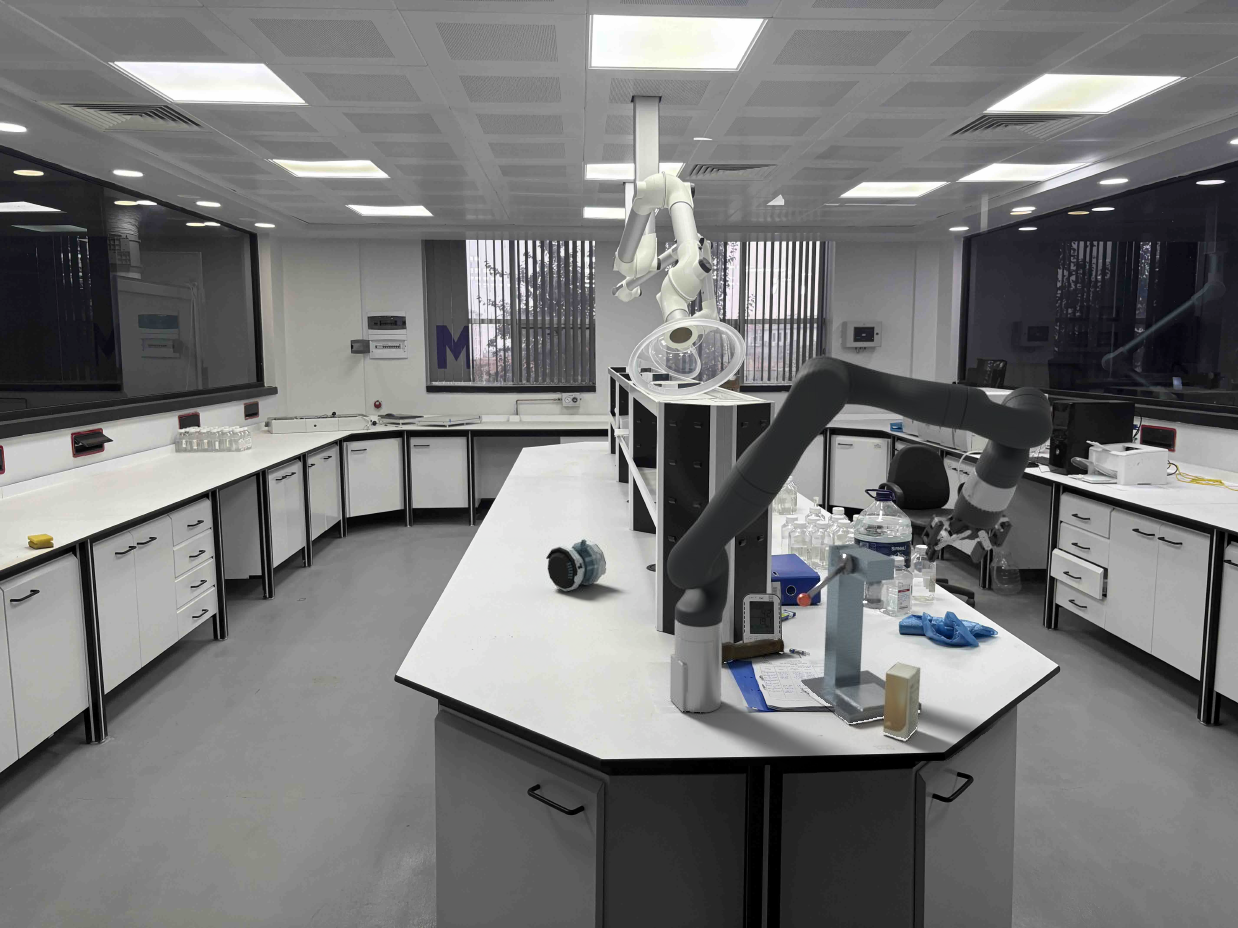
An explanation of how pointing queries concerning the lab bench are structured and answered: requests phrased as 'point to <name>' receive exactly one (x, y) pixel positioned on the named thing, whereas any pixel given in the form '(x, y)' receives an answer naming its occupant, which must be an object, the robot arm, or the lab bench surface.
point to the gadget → (576, 565)
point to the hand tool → (750, 649)
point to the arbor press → (850, 631)
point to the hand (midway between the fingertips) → (952, 559)
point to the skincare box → (901, 700)
